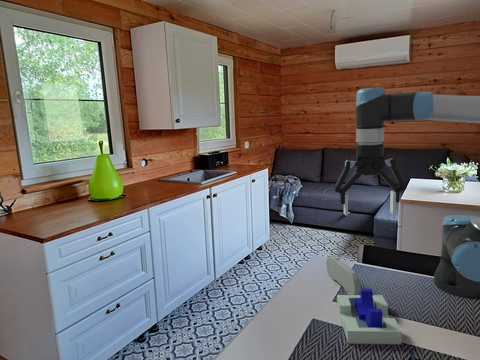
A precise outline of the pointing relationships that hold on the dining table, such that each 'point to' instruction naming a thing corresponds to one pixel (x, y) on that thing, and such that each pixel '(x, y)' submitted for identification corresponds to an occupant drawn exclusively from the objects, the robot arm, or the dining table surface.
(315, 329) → the dining table surface
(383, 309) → the holder
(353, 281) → the slide sandal
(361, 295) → the cable clip
